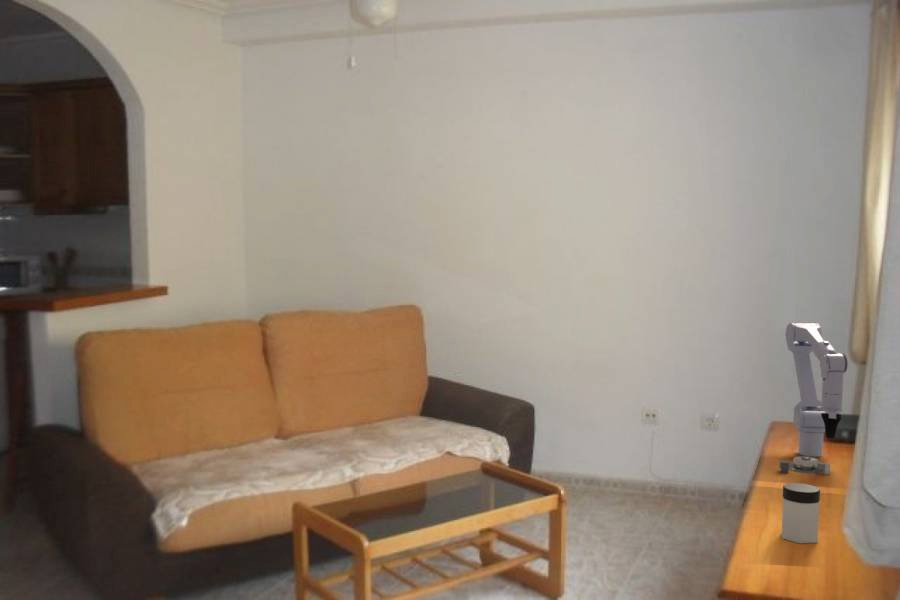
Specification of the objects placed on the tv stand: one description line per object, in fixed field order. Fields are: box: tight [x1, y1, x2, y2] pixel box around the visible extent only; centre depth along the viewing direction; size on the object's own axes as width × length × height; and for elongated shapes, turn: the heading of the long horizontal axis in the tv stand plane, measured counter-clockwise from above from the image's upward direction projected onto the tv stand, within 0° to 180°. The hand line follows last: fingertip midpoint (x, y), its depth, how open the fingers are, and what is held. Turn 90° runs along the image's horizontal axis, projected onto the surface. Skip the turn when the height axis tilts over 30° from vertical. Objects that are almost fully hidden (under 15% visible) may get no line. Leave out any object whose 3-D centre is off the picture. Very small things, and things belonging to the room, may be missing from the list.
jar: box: [781, 482, 821, 544], centre depth 214 cm, size 9×8×12 cm
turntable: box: [788, 461, 831, 475], centre depth 273 cm, size 13×14×4 cm
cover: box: [793, 455, 819, 471], centre depth 274 cm, size 7×7×3 cm
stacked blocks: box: [779, 460, 790, 475], centre depth 269 cm, size 3×2×4 cm
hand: (830, 437), depth 277 cm, fingers closed
